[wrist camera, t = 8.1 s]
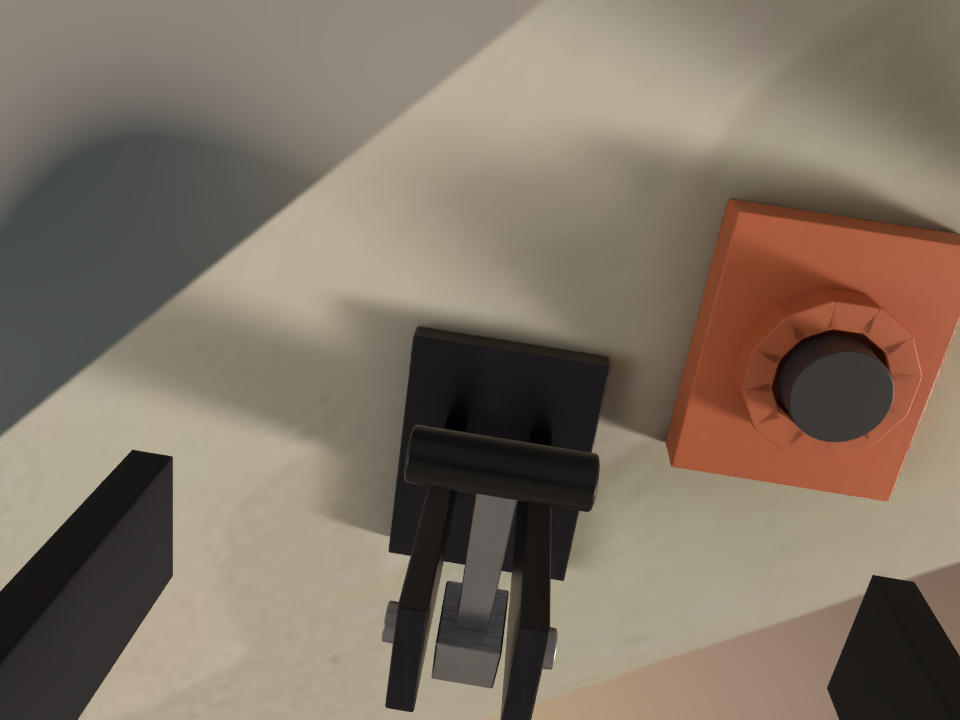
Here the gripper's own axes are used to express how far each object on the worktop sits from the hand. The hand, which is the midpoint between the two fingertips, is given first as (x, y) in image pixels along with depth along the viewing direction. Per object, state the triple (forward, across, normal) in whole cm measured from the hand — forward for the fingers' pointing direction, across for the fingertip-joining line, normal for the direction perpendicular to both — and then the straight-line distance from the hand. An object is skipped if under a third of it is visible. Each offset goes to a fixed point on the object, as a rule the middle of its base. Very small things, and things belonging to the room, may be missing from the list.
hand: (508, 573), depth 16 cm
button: (+20, +13, -3) cm, 24 cm away
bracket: (+24, 0, -11) cm, 26 cm away
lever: (+10, 0, -6) cm, 12 cm away
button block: (+24, +13, -3) cm, 27 cm away
